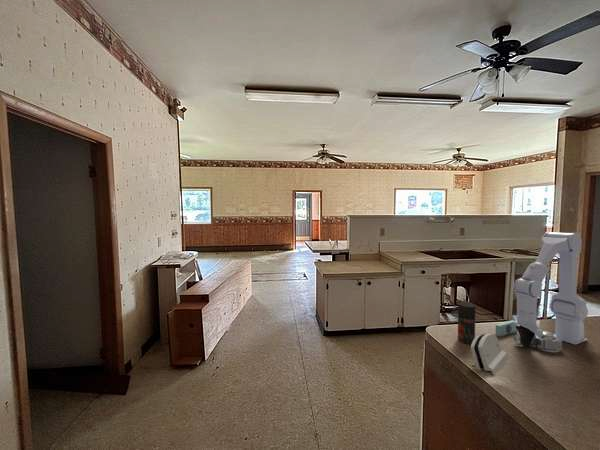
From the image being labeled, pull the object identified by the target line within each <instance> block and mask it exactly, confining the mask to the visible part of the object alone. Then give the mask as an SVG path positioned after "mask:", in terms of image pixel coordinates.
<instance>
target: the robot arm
mask: <svg viewBox="0 0 600 450" xmlns="http://www.w3.org/2000/svg"><path fill="white" fill-rule="evenodd" d="M582 241H583V239H582V237H581V235H579V234H578V233H577V232H556V231H555V232H554V231H546V232H545V233H544V234H543V235H542V238H541V245H542V247H541V250H540V252H539V254H538V256H537V258H536V260H535V262H531V263H529V265H528V266H527V268H526V270H525V271H524V273H523V274H522V277H519V278H518V279H517V278H516V279H515V281H514V283H513V285H512V288H513V290H514V292H515V293H514V294H515V297H516V315H515V314H514V315H511V320H513V323H515V324H516V325H517V326H516V329H517V331H516V332H518V336H520V338H521V342H522V345H521V346H522V347H524V348H530V347H531V346H532V345H531V342H532V339H533V337H534V336H535V335H536V336H543V331H544V330H543V329H541V328H540V327H539V325H538V324H537V322H538V321H537V320H538V319H537V313H538V312H537V311H538V309H537V308H538V306H537V305H538V303H537V302H538V297H539V295H540V294H541V293H542V287H543V281H544V279H545V277H546V276H547V274H548V272H549V269H548V266H549V264H550V263H551V262H552V260H553V259H554V258H555V257H556V256H557V254H558V255H559V264H558V265H559V267H558V269H559V270H558V274H559V275H558V292H557V293H554V294H553V295H551V300H550V302H549V309H550V311H551V312H552V313H553V316H555V330H554V331H555V333H553V334H554V336H555V337H557V338H559V339H560V340H562V342H565V343H569V344H572V345H578V344H582V343H583V342H586V341H588V338H585V322H584V320H585V319H586V318H587V317H588V313H589V309H588V307H587V301H586V300H585V299H584V298H582V297H581V296H580V295H578V294H577V290H578V289H577V288H578V287H577V286H578V285H577V283H578V280H577V279H578V254H581V253H582Z"/></svg>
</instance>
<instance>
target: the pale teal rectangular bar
mask: <svg viewBox="0 0 600 450" xmlns="http://www.w3.org/2000/svg"><path fill="white" fill-rule="evenodd" d="M516 326H518V325H516V324H515V323H513V320H512V319H511V320H507V321H504V322H501V323H497V324H495V335H496V337H499V336H500V337H503V336H506V334H507V335H509V334H512V333H516V332H518V331H517V329H516ZM502 335H503V336H502Z"/></svg>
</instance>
